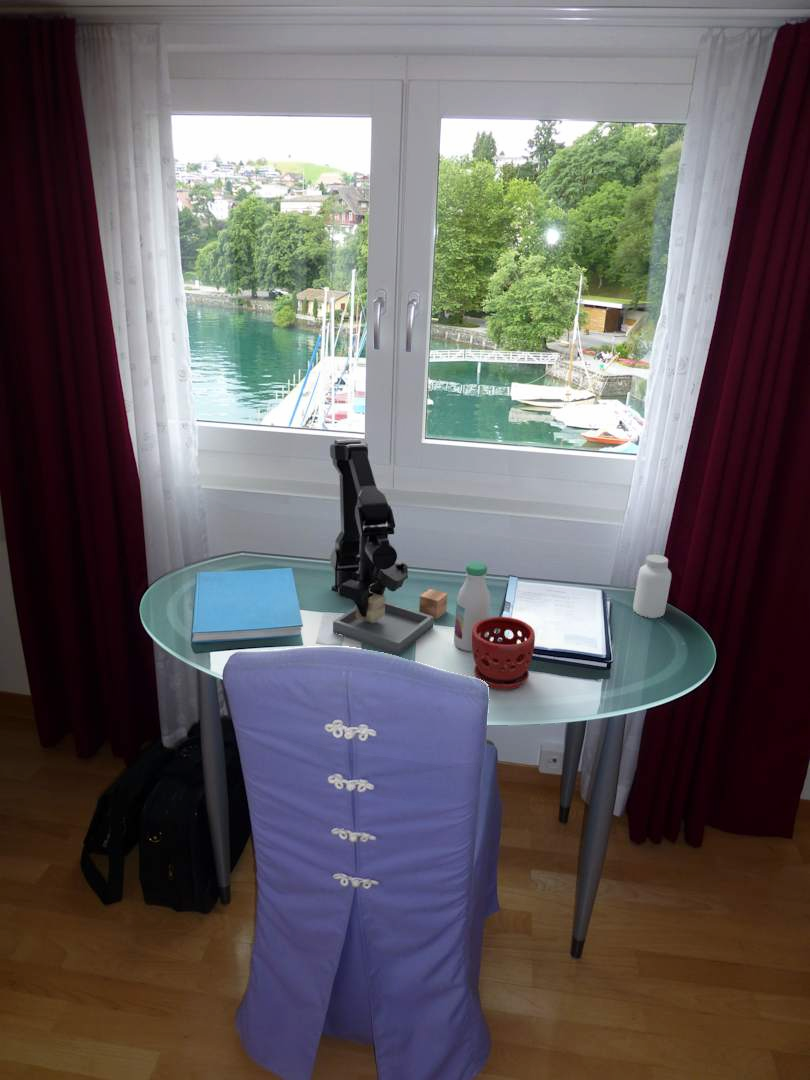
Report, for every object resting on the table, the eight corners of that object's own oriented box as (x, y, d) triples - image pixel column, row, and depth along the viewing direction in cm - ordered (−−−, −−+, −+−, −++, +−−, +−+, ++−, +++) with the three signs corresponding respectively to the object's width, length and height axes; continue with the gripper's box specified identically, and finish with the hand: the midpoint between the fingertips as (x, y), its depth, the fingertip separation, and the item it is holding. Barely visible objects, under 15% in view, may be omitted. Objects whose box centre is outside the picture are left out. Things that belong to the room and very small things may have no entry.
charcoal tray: (332, 632, 191) (333, 621, 190) (370, 607, 204) (370, 597, 203) (398, 655, 183) (398, 643, 182) (433, 627, 196) (433, 616, 194)
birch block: (355, 617, 193) (356, 598, 192) (367, 609, 197) (367, 591, 196) (373, 623, 191) (373, 604, 189) (384, 615, 195) (385, 596, 193)
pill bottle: (630, 615, 207) (639, 560, 201) (634, 602, 214) (643, 549, 208) (662, 621, 204) (672, 567, 198) (666, 608, 211) (675, 555, 205)
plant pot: (490, 657, 184) (495, 609, 179) (541, 678, 176) (547, 629, 172) (456, 679, 174) (460, 629, 170) (508, 703, 167) (513, 651, 162)
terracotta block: (419, 613, 202) (420, 595, 200) (428, 606, 206) (430, 588, 204) (436, 619, 200) (437, 601, 198) (446, 611, 204) (447, 593, 202)
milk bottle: (490, 640, 191) (497, 562, 184) (482, 655, 184) (489, 574, 177) (458, 633, 193) (464, 556, 186) (449, 648, 187) (455, 568, 179)
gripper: (379, 574, 177) (377, 637, 183) (422, 547, 192) (418, 607, 198) (337, 561, 182) (336, 623, 188) (382, 537, 197) (380, 595, 203)
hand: (369, 612), depth 194 cm, fingers closed on birch block, 5 cm apart
